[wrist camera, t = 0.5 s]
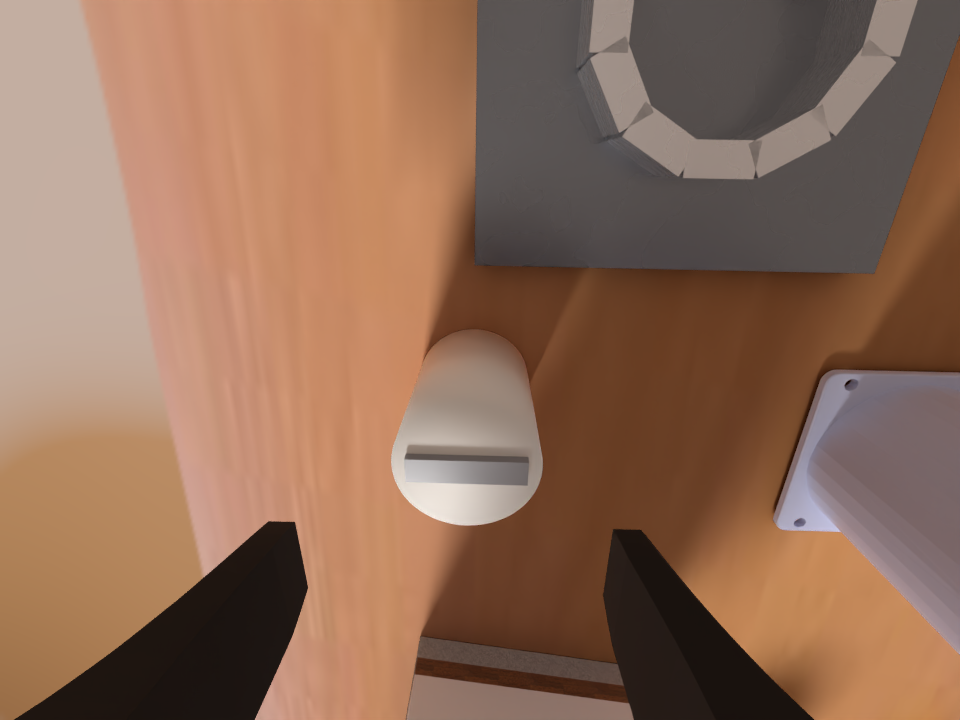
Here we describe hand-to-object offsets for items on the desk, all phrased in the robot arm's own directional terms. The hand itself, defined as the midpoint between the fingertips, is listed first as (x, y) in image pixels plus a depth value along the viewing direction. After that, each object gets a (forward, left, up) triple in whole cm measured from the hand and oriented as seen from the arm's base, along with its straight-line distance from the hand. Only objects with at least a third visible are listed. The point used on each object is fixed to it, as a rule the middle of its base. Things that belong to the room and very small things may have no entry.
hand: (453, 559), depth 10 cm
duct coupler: (0, 0, -9) cm, 9 cm away
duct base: (-7, -12, -9) cm, 17 cm away
